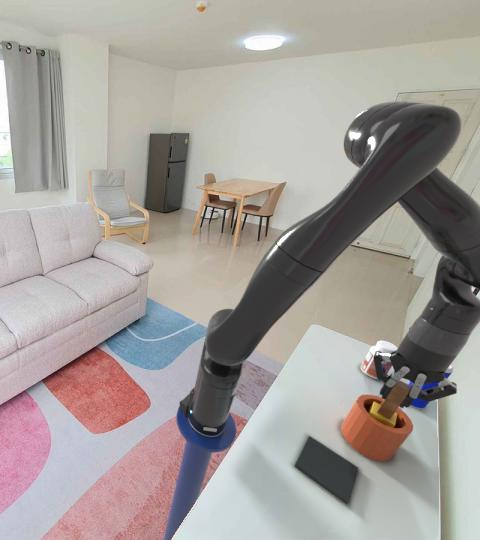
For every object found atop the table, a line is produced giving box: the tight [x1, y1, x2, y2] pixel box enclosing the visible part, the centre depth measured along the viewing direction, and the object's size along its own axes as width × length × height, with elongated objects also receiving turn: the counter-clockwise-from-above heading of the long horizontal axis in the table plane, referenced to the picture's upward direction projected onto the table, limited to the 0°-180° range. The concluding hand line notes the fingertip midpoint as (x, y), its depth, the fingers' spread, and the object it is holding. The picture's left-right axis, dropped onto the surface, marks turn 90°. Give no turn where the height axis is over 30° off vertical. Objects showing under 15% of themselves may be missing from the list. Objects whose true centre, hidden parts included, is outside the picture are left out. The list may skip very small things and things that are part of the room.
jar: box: [340, 393, 414, 462], centre depth 70 cm, size 10×10×10 cm
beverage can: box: [407, 364, 454, 410], centre depth 80 cm, size 5×5×15 cm
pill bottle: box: [360, 340, 398, 380], centre depth 90 cm, size 6×6×11 cm
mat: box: [294, 435, 359, 504], centre depth 66 cm, size 10×10×1 cm
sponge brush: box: [368, 380, 410, 428], centre depth 67 cm, size 4×4×14 cm
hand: (392, 400), depth 66 cm, fingers closed on sponge brush, 2 cm apart
